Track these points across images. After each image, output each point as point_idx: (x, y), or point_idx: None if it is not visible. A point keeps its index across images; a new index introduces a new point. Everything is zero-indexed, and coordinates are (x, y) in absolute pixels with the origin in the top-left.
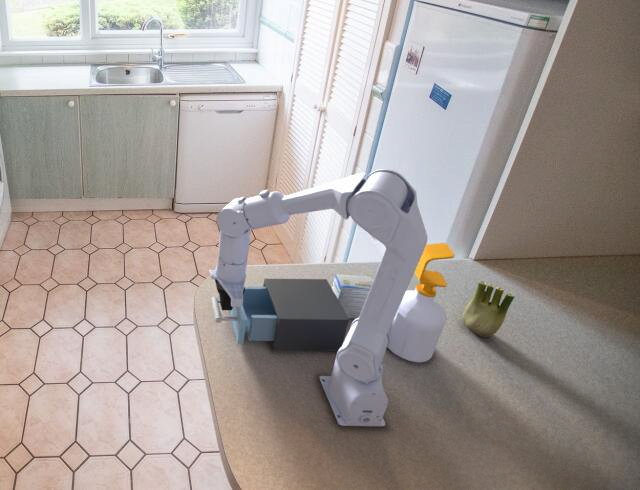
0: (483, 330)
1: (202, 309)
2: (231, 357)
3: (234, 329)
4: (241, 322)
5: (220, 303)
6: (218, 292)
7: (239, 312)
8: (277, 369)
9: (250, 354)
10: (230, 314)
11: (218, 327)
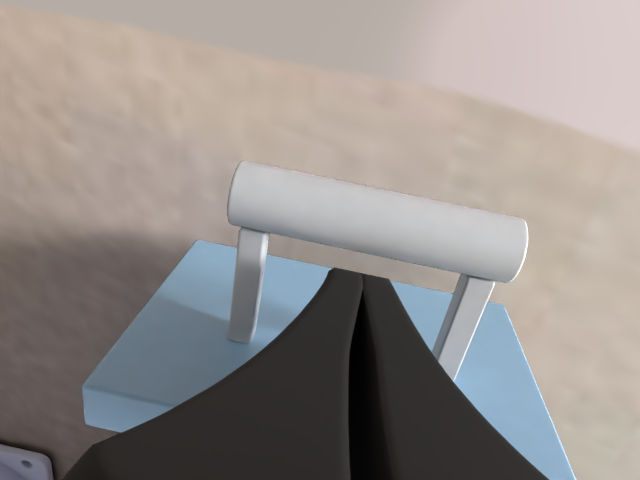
0: None
1: (568, 129)
2: (140, 169)
3: (290, 268)
4: (99, 366)
5: (364, 292)
6: (83, 454)
7: (169, 408)
8: (79, 345)
9: (160, 273)
10: (423, 294)
11: (372, 180)
